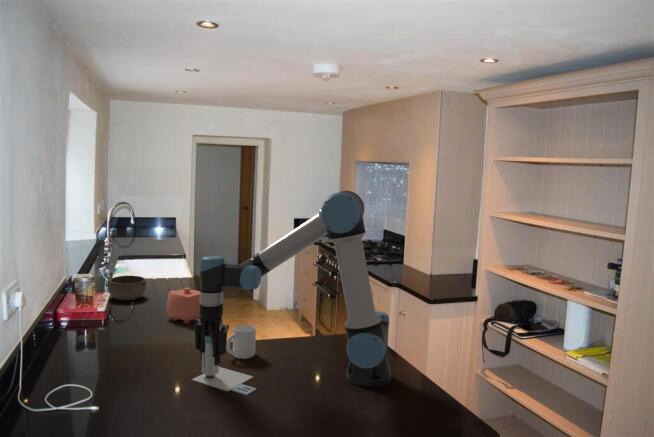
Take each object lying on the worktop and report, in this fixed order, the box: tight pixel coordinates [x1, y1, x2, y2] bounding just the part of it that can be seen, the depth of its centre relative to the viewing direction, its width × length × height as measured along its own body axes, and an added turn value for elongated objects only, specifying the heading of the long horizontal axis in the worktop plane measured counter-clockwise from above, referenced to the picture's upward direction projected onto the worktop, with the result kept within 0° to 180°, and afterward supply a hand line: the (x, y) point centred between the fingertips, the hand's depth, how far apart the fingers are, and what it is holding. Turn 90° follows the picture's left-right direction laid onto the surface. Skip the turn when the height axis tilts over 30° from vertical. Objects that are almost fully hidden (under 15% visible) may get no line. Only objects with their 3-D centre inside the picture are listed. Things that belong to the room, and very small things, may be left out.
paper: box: [191, 366, 254, 392], centre depth 174 cm, size 15×13×1 cm
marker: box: [204, 334, 215, 378], centre depth 174 cm, size 4×4×14 cm
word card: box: [230, 383, 257, 396], centre depth 166 cm, size 6×5×1 cm
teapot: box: [166, 287, 201, 325], centre depth 235 cm, size 22×13×14 cm, turn 61°
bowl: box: [108, 275, 147, 302], centre depth 265 cm, size 17×18×10 cm
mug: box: [226, 324, 257, 360], centre depth 194 cm, size 12×8×10 cm
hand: (210, 372), depth 175 cm, fingers closed on marker, 3 cm apart
